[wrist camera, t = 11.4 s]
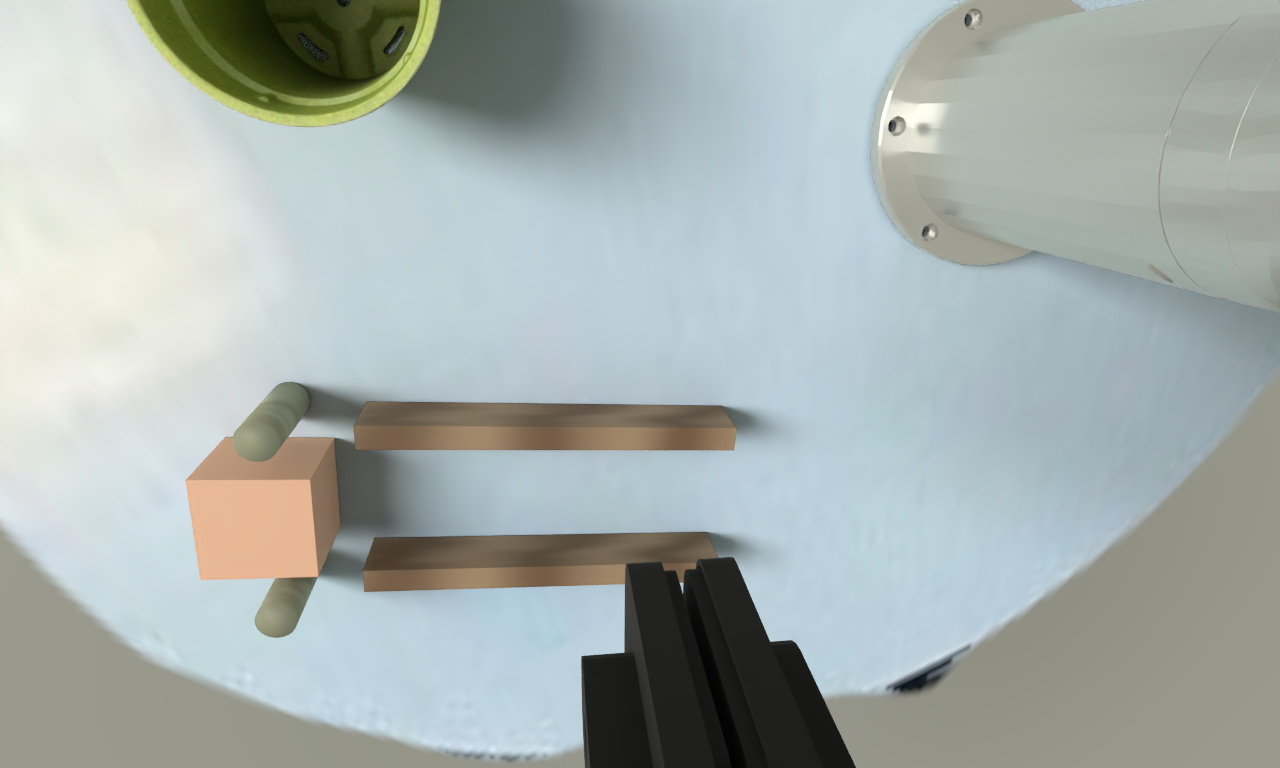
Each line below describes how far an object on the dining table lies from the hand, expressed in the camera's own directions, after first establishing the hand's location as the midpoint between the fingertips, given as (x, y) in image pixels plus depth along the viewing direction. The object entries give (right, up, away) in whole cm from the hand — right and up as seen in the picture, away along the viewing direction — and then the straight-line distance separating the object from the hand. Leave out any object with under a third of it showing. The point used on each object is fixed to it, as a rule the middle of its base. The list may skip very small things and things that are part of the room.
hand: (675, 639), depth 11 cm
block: (-19, -1, +25) cm, 32 cm away
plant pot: (-13, +20, +19) cm, 30 cm away
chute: (-8, -1, +27) cm, 28 cm away
